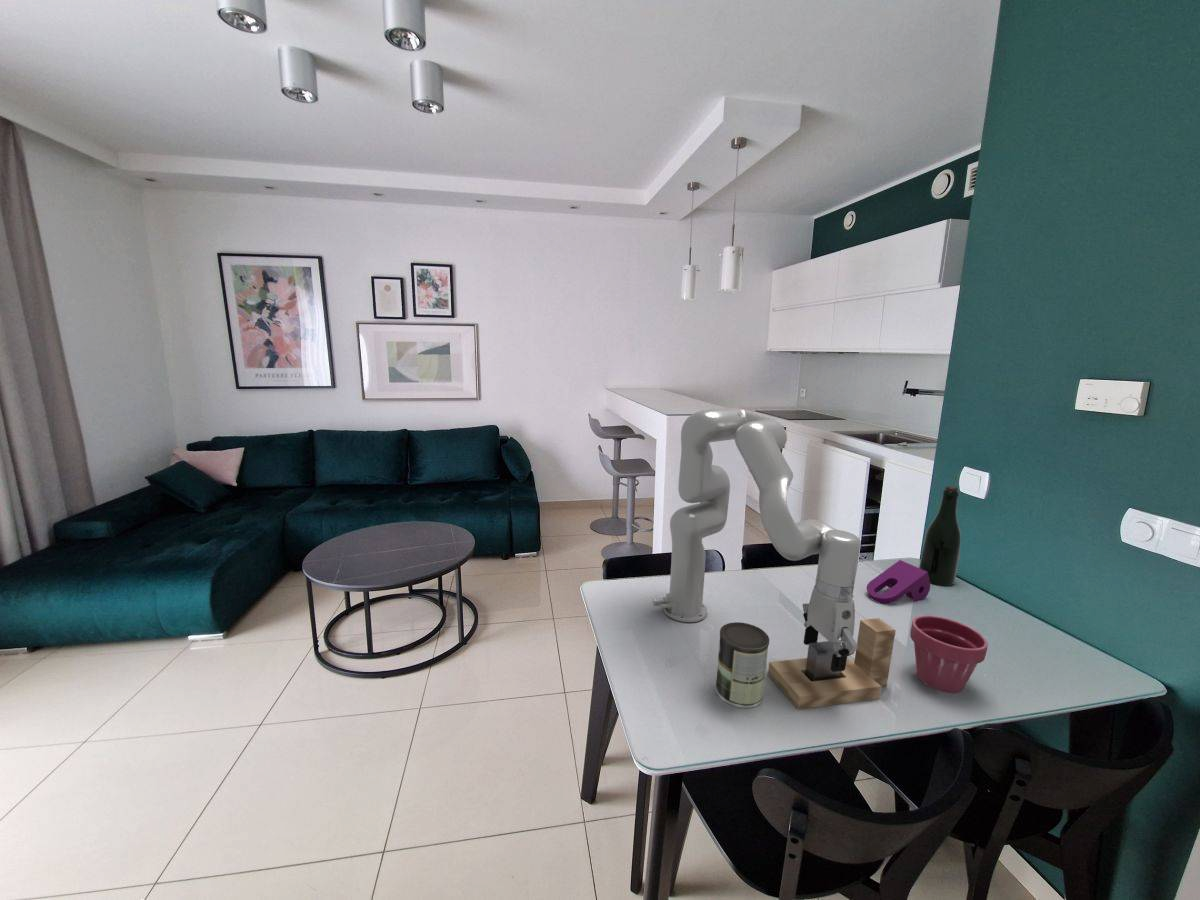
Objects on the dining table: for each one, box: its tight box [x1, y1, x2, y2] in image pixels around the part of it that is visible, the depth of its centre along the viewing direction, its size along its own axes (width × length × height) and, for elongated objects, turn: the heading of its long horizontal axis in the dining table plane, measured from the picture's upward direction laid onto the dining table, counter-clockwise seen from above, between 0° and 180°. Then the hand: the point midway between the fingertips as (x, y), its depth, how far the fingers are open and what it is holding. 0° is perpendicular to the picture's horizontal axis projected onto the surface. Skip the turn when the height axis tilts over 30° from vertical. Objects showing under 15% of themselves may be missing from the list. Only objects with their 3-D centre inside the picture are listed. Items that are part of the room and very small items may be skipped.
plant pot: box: [909, 615, 989, 694], centre depth 114 cm, size 14×14×13 cm
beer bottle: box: [918, 485, 962, 587], centre depth 165 cm, size 10×10×33 cm
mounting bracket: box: [866, 559, 931, 605], centre depth 156 cm, size 10×8×18 cm
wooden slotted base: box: [767, 617, 897, 710], centre depth 111 cm, size 25×12×14 cm, turn 102°
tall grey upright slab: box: [805, 640, 843, 682], centre depth 111 cm, size 7×3×10 cm, turn 102°
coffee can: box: [714, 621, 770, 709], centre depth 107 cm, size 10×10×14 cm
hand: (823, 656), depth 111 cm, fingers open, 9 cm apart
